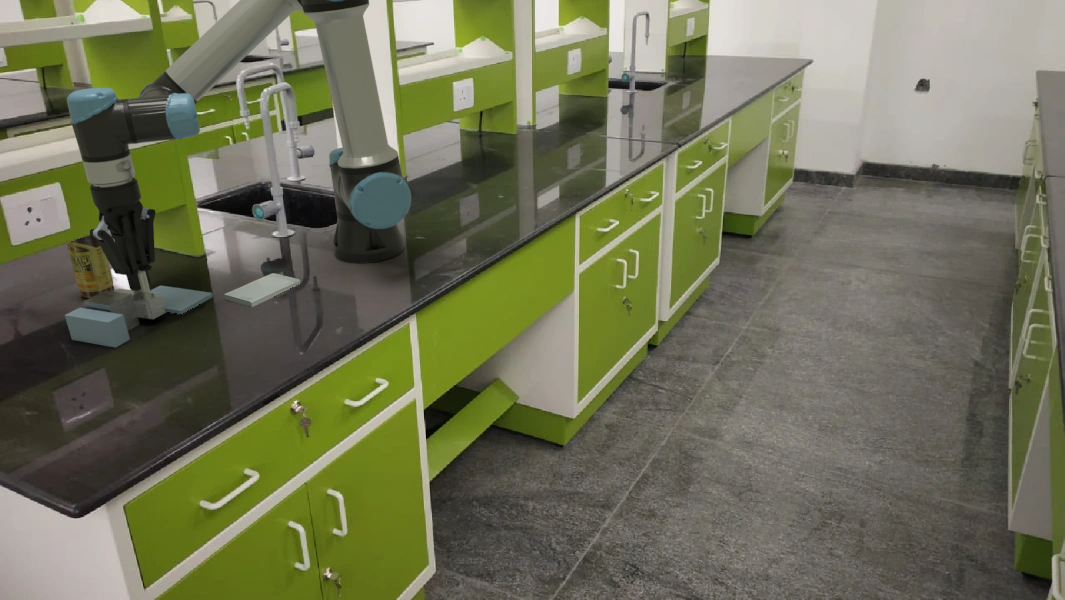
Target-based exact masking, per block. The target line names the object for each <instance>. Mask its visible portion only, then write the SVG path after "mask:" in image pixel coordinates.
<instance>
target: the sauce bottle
mask: <svg viewBox="0 0 1065 600" xmlns="http://www.w3.org/2000/svg"><path fill="white" fill-rule="evenodd" d="M66 245H67V251H68V254H69V257H70V261H71V265H72V269H73V273H74V276H75V281H76V285H77V288H78V290H79V293H80V295H81V297H83V298H85V299H89V298H91V297H94V296H96V295H98V294H100V293H102V292H104V291H106V290H108V291H115V286H114V280H113V279H114V278H113V275H112V272H111V267H110V266H111V265H110V263H109V261H108V259H107V257H106V256H105V254H104V252H103V250H102V248H101V246H100V245H99V243H98V241H97V240H96V239H95V238H94V237H92V236H91V235H89V236H86V237H83V238H80V239H77V240H75V241H71V242H69V243H67V242H66Z"/></svg>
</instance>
